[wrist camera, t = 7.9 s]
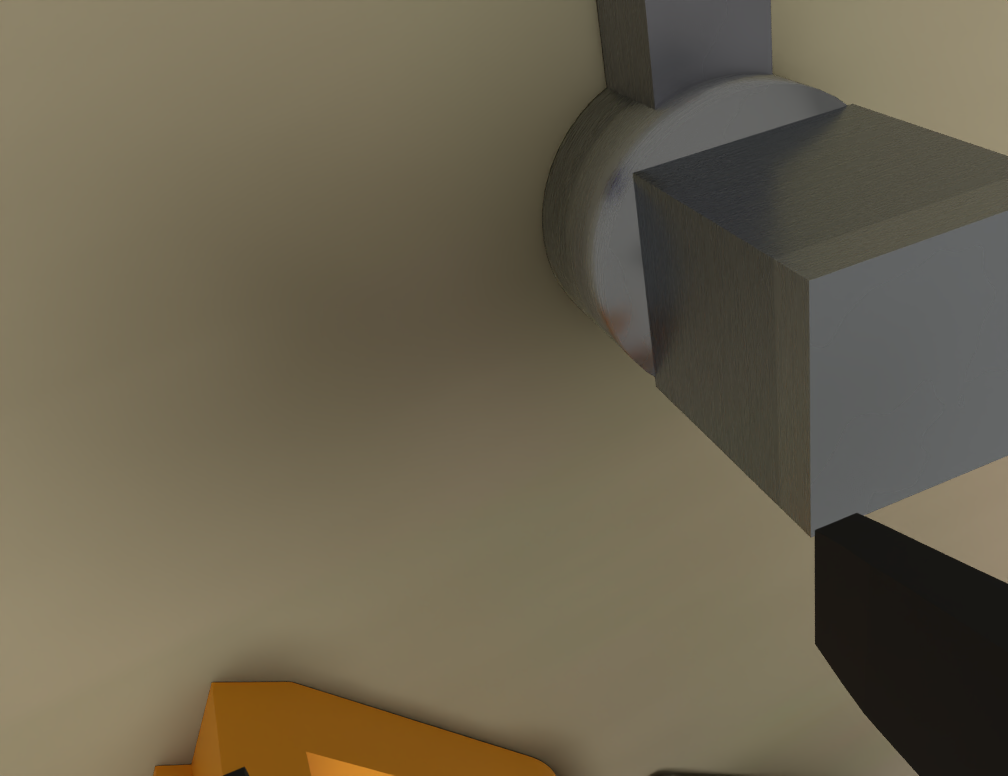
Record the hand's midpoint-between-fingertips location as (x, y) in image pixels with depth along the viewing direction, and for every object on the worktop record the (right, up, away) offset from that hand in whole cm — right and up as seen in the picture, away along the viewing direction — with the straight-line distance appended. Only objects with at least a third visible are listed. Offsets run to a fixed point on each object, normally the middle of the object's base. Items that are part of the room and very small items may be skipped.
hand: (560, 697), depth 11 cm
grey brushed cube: (+4, +6, +7) cm, 10 cm away
